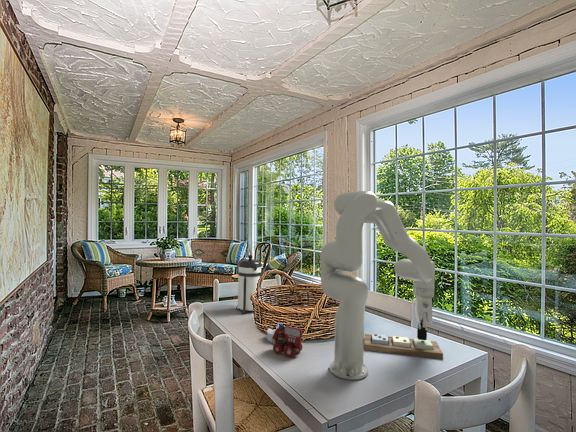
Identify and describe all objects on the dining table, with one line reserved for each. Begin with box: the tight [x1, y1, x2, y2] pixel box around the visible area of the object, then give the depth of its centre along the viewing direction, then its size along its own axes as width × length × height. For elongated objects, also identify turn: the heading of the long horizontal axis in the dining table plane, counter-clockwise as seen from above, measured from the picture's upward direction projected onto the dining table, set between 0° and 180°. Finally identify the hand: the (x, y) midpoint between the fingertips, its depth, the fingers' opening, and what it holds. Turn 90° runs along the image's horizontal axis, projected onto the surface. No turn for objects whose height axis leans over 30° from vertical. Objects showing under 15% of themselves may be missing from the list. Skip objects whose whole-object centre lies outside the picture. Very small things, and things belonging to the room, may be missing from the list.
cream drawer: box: [391, 335, 410, 347], centre depth 126 cm, size 6×6×3 cm
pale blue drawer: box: [371, 333, 389, 345], centre depth 128 cm, size 6×6×3 cm
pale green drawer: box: [412, 337, 433, 350], centre depth 124 cm, size 6×6×3 cm
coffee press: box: [235, 254, 263, 315], centre depth 173 cm, size 17×16×30 cm
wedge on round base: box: [266, 323, 285, 343], centre depth 132 cm, size 9×7×13 cm
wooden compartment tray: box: [364, 333, 444, 360], centre depth 126 cm, size 12×28×2 cm, turn 76°
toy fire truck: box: [271, 324, 303, 359], centre depth 119 cm, size 7×12×10 cm, turn 58°
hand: (421, 339), depth 124 cm, fingers closed
